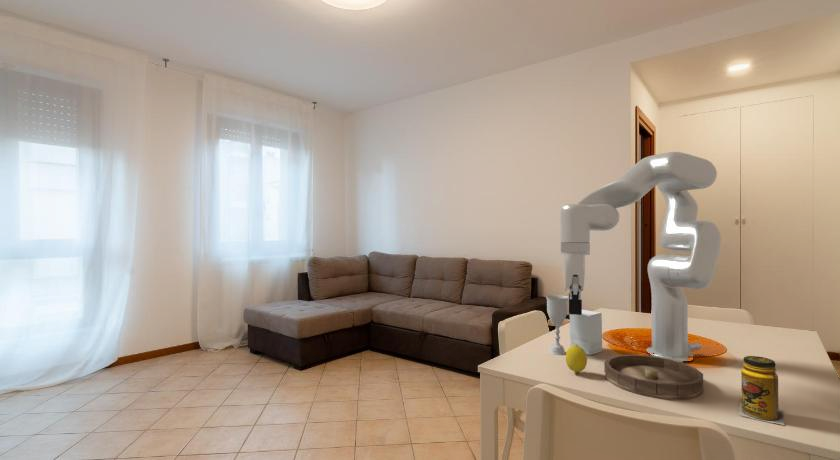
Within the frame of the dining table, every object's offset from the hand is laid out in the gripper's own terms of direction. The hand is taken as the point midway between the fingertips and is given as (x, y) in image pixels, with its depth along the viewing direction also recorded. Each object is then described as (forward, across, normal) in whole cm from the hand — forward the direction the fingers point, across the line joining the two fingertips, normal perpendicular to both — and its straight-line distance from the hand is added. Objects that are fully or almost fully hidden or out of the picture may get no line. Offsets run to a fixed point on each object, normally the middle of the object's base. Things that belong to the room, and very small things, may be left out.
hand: (574, 310), depth 111 cm
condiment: (+17, +12, +37) cm, 43 cm away
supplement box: (+17, -23, +4) cm, 29 cm away
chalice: (+18, -18, -5) cm, 26 cm away
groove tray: (+17, 0, +19) cm, 25 cm away
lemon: (+18, 0, 0) cm, 18 cm away
